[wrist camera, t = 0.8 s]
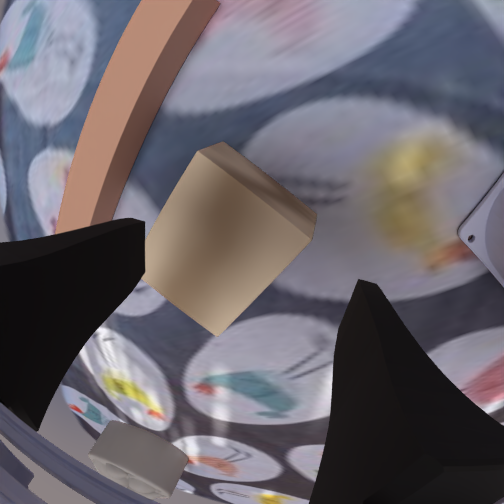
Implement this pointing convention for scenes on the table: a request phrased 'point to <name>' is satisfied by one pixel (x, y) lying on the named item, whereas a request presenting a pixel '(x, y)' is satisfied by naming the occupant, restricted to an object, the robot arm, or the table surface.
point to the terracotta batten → (128, 105)
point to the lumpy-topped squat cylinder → (138, 460)
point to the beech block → (223, 237)
